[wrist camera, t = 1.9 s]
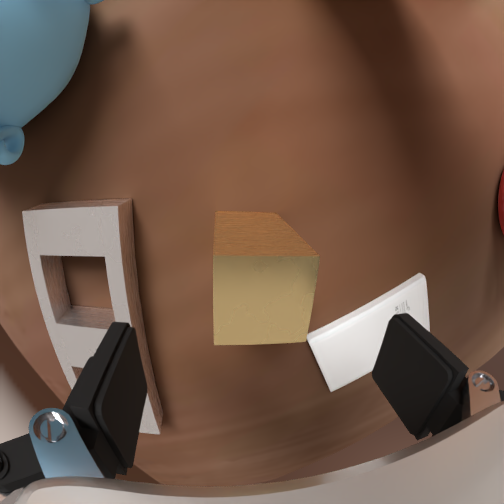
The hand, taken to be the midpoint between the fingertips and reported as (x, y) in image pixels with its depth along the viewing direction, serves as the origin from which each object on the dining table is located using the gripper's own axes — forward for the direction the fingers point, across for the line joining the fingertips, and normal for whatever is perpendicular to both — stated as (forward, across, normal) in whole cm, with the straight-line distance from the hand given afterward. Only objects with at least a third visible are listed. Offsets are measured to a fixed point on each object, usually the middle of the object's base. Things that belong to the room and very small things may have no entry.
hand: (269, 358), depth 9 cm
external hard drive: (+12, -13, +8) cm, 20 cm away
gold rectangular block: (+12, 0, -1) cm, 12 cm away
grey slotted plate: (+12, +12, +7) cm, 18 cm away
